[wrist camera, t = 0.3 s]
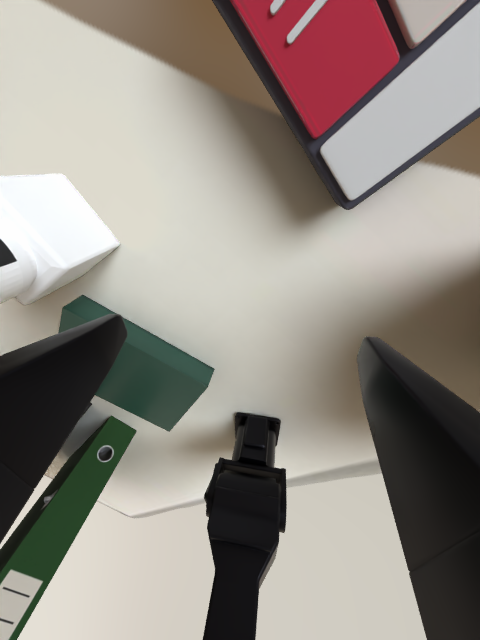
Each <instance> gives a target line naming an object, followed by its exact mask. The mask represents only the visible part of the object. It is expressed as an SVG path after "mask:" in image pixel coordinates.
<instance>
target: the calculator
mask: <svg viewBox="0 0 480 640" xmlns="http://www.w3.org/2000/svg"><path fill="white" fill-rule="evenodd" d="M212 1H213V3H214V4H215V6H216V8H217V9H218V11H219V13H220V14H221V16H222V17H223V19H224V20H225V22H226V24H227V25H228V27H229V29H230V30H231V32H232V33H233V35H234V37H235V39H236V40H237V42H238V43H239V45H240V47H241V48H242V50H243V52H244V53H245V55H246V56H247V58H248V60H249V61H250V63H251V64H252V66H253V68H254V70H255V71H256V72H257V74H258V76H259V78H260V79H261V81H262V82H263V84H264V86H265V87H266V89H267V91H268V92H269V94H270V96H271V97H272V99H273V100H274V102H275V104H276V105H277V107H278V109H279V110H280V112H281V113H282V115H283V117H284V118H285V120H286V122H287V123H288V125H289V126H290V128H291V130H292V131H293V133H294V135H295V136H296V138H297V139H298V141H299V143H300V144H301V146H302V148H303V149H304V151H305V153H306V154H307V156H308V158H309V160H310V161H311V163H312V165H313V166H314V168H315V170H316V171H317V173H318V175H319V176H320V178H321V180H322V181H323V183H324V184H325V186H326V188H327V189H328V191H329V193H330V194H331V196H332V197H333V199H334V201H335V202H336V203H337V204H338V205H339V206H341V207H342V208H344V209H346V210H350V209H352V208H354V207H355V206H357V205H358V204H359V203H361V202H362V201H364V200H365V199H366V198H368V197H369V196H370V195H372V194H373V193H375V192H376V191H377V190H379V189H380V188H381V187H383V186H384V185H386V184H387V183H388V182H390V181H391V180H393V179H394V178H395V177H397V176H398V175H399V174H401V173H402V172H404V171H405V170H406V169H408V168H409V167H410V166H412V165H413V164H415V163H416V162H417V161H419V160H420V159H422V158H423V157H424V156H426V155H427V154H428V153H430V152H431V151H433V150H434V149H435V148H436V147H438V146H439V145H441V144H442V143H443V142H445V141H446V140H448V139H449V138H451V137H452V136H453V135H455V134H456V133H457V132H459V131H460V130H461V129H463V128H464V127H466V126H467V125H468V124H470V123H471V122H473V121H474V120H475V119H477V118H478V117H480V0H212Z"/></svg>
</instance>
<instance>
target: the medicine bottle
mask: <svg viewBox="0 0 480 640" xmlns="http://www.w3.org/2000/svg"><path fill="white" fill-rule="evenodd" d="M119 245H120V242H119V240H118V239H117V238H116V237H115V236H114V234H113V233H112V232H111V231H110V229H109V228H108V227H107V226H106V225H105V223H104V222H103V221H102V220H101V219H100V217H99V216H98V215H97V214H96V212H95V211H94V210H93V209H92V208H91V206H90V205H89V204H88V203H87V202H86V200H85V199H84V198H83V197H82V195H81V194H80V193H79V192H78V191H77V189H76V188H75V187H74V186H73V184H72V183H71V182H70V181H69V180H68V178H67V177H66V176H65V175H64V174H36V175H11V176H0V304H1V303H3V302H5V301H7V300H9V299H11V298H13V297H15V298H16V299H17V300H18V301H19V302H20V303H21V304H23V305H28V304H31V303H33V302H35V301H36V300H38V299H40V298H42V297H44V296H46V295H48V294H49V293H51V292H53V291H55V290H57V289H59V288H60V287H62V286H64V285H66V284H68V283H70V282H72V281H73V280H75V279H77V278H79V277H81V276H83V275H84V274H85V273H86V272H87V271H89V270H90V269H91V268H92V267H94V266H95V265H96V264H97V263H99V262H100V261H101V260H102V259H104V258H105V257H106V256H107V255H108V254H110V253H111V252H112V251H113V250H115V249H116V248H117V247H118V246H119Z"/></svg>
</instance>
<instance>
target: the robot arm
mask: <svg viewBox="0 0 480 640" xmlns="http://www.w3.org/2000/svg"><path fill="white" fill-rule="evenodd" d="M127 334H128V333H127V329H126V326H125V323H124V320H123V318H122V316H121V315H118V314H108V315H106V316H103V317H100V318H98V319H95V320H93V321H90V322H87V323H85V324H82V325H79V326H77V327H74V328H72V329H69V330H66V331H64V332H61V333H59V334H56V335H53V336H51V337H48V338H45V339H43V340H40V341H38V342H35V343H32V344H30V345H27V346H25V347H22V348H19V349H17V350H14V351H11V352H9V353H6V354H4V355H2V356H0V543H1V542H2V540H3V539H4V537H5V536H6V534H7V532H8V531H9V529H10V528H11V526H12V524H13V523H14V521H15V520H16V518H17V516H18V515H19V513H20V512H21V510H22V509H23V507H24V505H25V504H26V502H27V501H28V499H29V498H30V496H31V495H32V493H33V491H34V488H36V486H37V485H38V483H39V481H40V480H41V478H42V477H43V475H44V474H45V472H46V471H47V469H48V467H49V466H50V464H51V463H52V461H53V460H54V458H55V456H56V455H57V453H58V452H59V450H60V449H61V447H62V445H63V444H64V442H65V441H66V439H67V438H68V436H69V434H70V433H71V431H72V430H73V428H74V427H75V425H76V423H77V422H78V420H79V419H80V417H81V416H82V414H83V412H84V411H85V409H86V408H87V406H88V405H89V403H90V401H91V400H92V398H93V397H94V395H95V394H96V392H97V390H98V389H99V387H100V386H101V384H102V383H103V381H104V379H105V378H106V376H107V375H108V373H109V371H110V370H111V368H112V366H113V364H114V362H115V360H116V358H117V356H118V354H119V352H120V350H121V348H122V346H123V344H124V342H125V340H126V338H127ZM357 364H358V371H359V378H360V385H361V392H362V399H363V403H364V408H365V411H366V415H367V419H368V422H369V426H370V430H371V433H372V437H373V441H374V445H375V448H376V452H377V456H378V459H379V463H380V467H381V470H382V474H383V478H384V482H385V485H386V489H387V493H388V496H389V500H390V504H391V507H392V511H393V515H394V519H395V522H396V526H397V530H398V533H399V537H400V540H401V544H402V548H403V552H404V555H405V559H406V563H407V567H408V570H409V571H410V573H409V575H410V578H411V582H412V585H413V590H414V593H415V597H416V601H417V604H418V608H419V612H420V615H421V619H422V623H423V626H424V630H425V634H426V638H427V640H480V412H478V411H477V410H476V409H474V408H473V407H472V406H470V405H469V404H467V403H466V402H465V401H463V400H462V399H461V398H459V397H458V396H457V395H455V394H454V393H453V392H451V391H450V390H449V389H447V388H446V387H445V386H443V385H442V384H441V383H439V382H438V381H436V380H435V379H434V378H432V377H431V376H430V375H428V374H427V373H426V372H424V371H423V370H422V369H420V368H419V367H418V366H416V365H415V364H414V363H412V362H411V361H410V360H408V359H407V358H405V357H404V356H403V355H401V354H400V353H399V352H397V351H396V350H395V349H393V348H392V347H391V346H389V345H388V344H387V343H385V342H384V341H383V340H381V339H380V338H378V337H369V336H366V337H364V339H363V341H362V343H361V346H360V349H359V352H358V355H357ZM280 424H281V421H280V420H279V419H276V418H270V417H263V416H257V415H250V414H244V413H236V416H235V438H236V441H235V446H234V451H233V456H232V460H228V459H224V458H221V457H220V458H219V461H218V463H216V464H215V469H214V473H213V476H212V479H211V481H210V483H209V486H208V488H207V490H206V492H205V495H204V499H205V501H206V508H207V509H206V516H207V517H209V520H208V526H207V529H208V534H209V540H210V545H211V550H212V555H213V560H214V565H215V576H214V581H213V587H212V592H211V598H210V603H209V609H208V614H207V619H206V625H205V630H204V636H203V640H255V636H256V622H257V609H258V595H259V588H260V586H261V584H262V582H263V581H264V579H265V577H266V575H267V573H268V571H269V569H270V567H271V566H272V564H273V562H274V560H275V556H276V552H277V547H278V543H279V532H282V533H284V532H285V525H286V469H284V468H281V469H279V468H274V463H275V446H277V442H278V436H279V430H280Z"/></svg>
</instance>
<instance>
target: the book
mask: <svg viewBox="0 0 480 640" xmlns="http://www.w3.org/2000/svg"><path fill="white" fill-rule="evenodd" d="M108 314H116V313H114V312H112V311H110V310H109V309H107V308H105V307H103V306H102V305H100V304H98V303H96V302H95V301H93V300H91V299H89V298H87V297H86V296H84V295H81V296H80V297H79V298H77V299H75V300H74V301H72V302H71V303H69V304H67V305H66V306H64V307H63V309H62V315H61V321H60V327H59V333H61V332H64V331H66V330H69V329H72V328H74V327H77V326H79V325H82V324H85V323H87V322H90V321H93V320H95V319H98V318H100V317H103V316H106V315H108ZM122 318H123V317H122ZM123 320H124V323H125V326H126V329H127V333H128V334H127V338H126V340H125V342H124V344H123V346H122V348H121V350H120V352H119V354H118V356H117V358H116V360H115V362H114V364H113V366H112V368H111V370H110V371H109V373H108V375H107V376H106V378H105V379H104V381H103V383H102V384H101V386H100V387H99V389H98V390H97V392H96V394H95V395H96V396H98V397H100V398H102V399H104V400H106V401H108V402H110V403H112V404H114V405H116V406H118V407H120V408H122V409H124V410H126V411H129V412H131V413H133V414H135V415H137V416H139V417H141V418H143V419H145V420H147V421H149V422H151V423H153V424H155V425H157V426H159V427H161V428H163V429H165V430H167V431H170V430H171V429H172V428H173V427H174V426H175V425H176V423H177V422H178V421H179V420H180V419H181V418H182V416H183V415H184V414H185V413H186V412H187V411H188V409H189V408H190V407H191V406H192V405H193V404H194V402H195V401H196V400H197V399H198V398H199V397H200V395H201V394H202V393H203V392H204V391H205V390H206V388H207V387H208V385H209V382H210V380H211V377H212V374H213V372H214V369H213V368H212V367H210V366H208V365H206V364H205V363H203V362H201V361H199V360H197V359H196V358H194V357H192V356H190V355H189V354H187V353H185V352H183V351H182V350H180V349H178V348H176V347H174V346H173V345H171V344H169V343H167V342H166V341H164V340H162V339H160V338H158V337H157V336H155V335H153V334H151V333H150V332H148V331H146V330H144V329H142V328H141V327H139V326H137V325H135V324H134V323H132V322H130V321H128V320H126V319H125V318H123ZM59 333H58V334H59Z"/></svg>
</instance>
